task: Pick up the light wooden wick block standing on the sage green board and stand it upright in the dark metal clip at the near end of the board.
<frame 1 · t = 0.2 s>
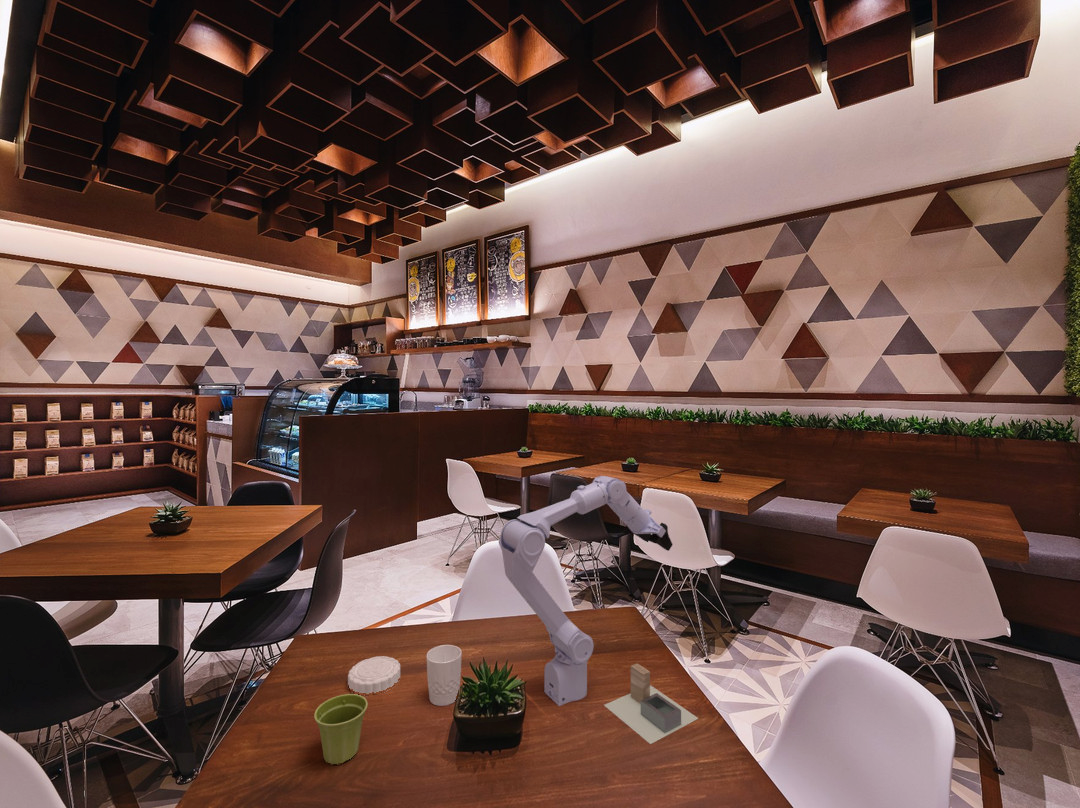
hand: (659, 542, 122), 31 cm above the table, tool tilted 45°, fingers open, 7 cm apart
white cup: (444, 697, 108), on the table
plant pot: (341, 754, 91), on the table
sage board: (650, 716, 101), on the table
mooncake: (374, 682, 114), on the table
wick clip: (660, 724, 99), resting on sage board
wooden wick: (640, 700, 105), point 1 cm above the table, touching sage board
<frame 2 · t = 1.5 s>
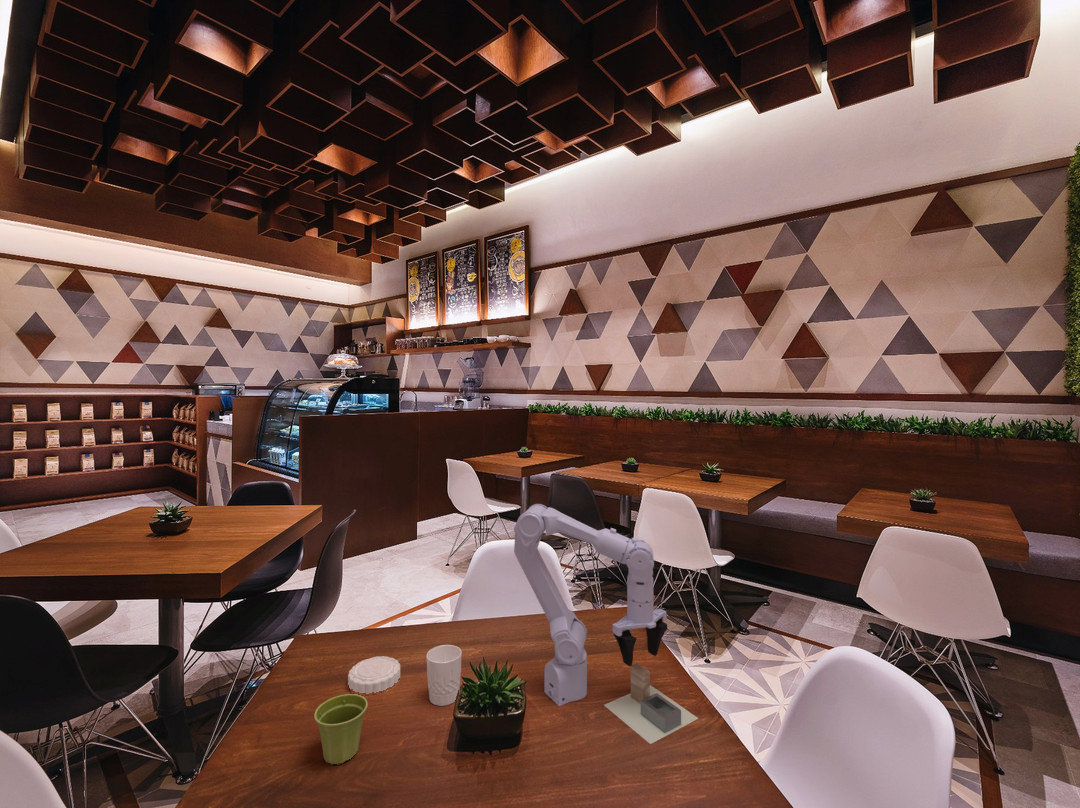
hand: (640, 658, 105), 10 cm above the table, tool pointing down, fingers open, 7 cm apart
nothing on the table moved.
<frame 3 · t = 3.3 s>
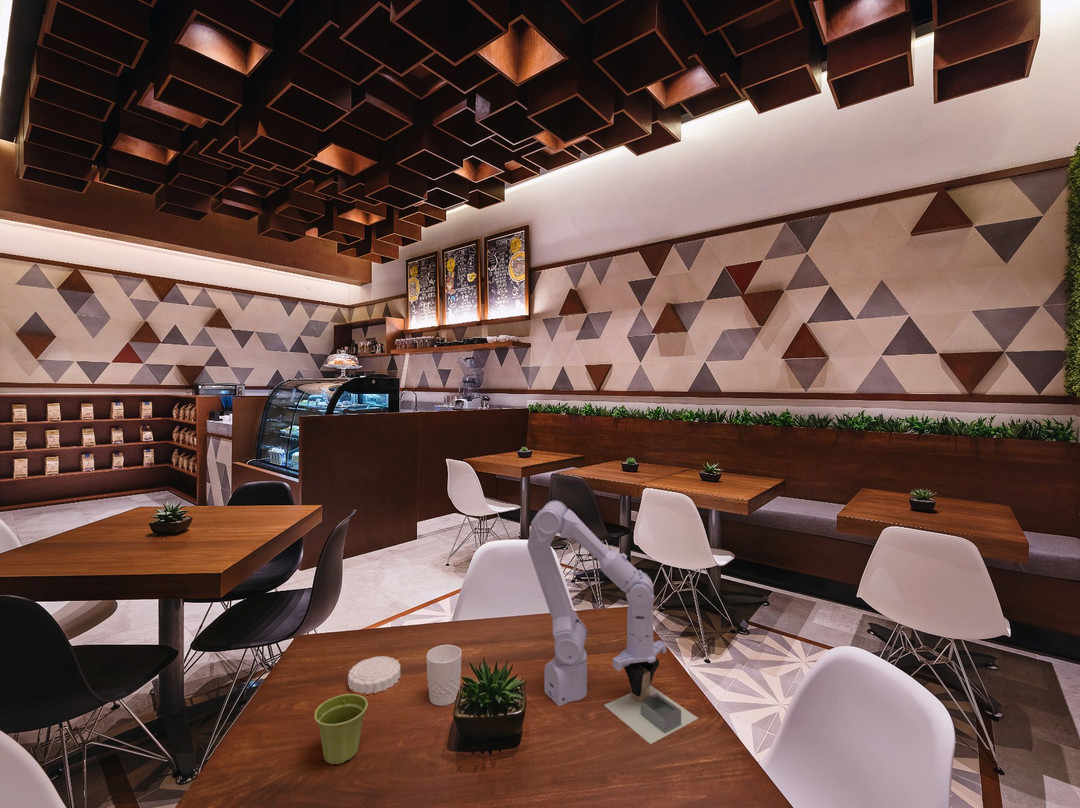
hand: (640, 691, 105), 3 cm above the table, tool pointing down, fingers closed on wooden wick, 2 cm apart
wooden wick: (640, 700, 105), point 1 cm above the table, touching gripper, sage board
everything else where it was.
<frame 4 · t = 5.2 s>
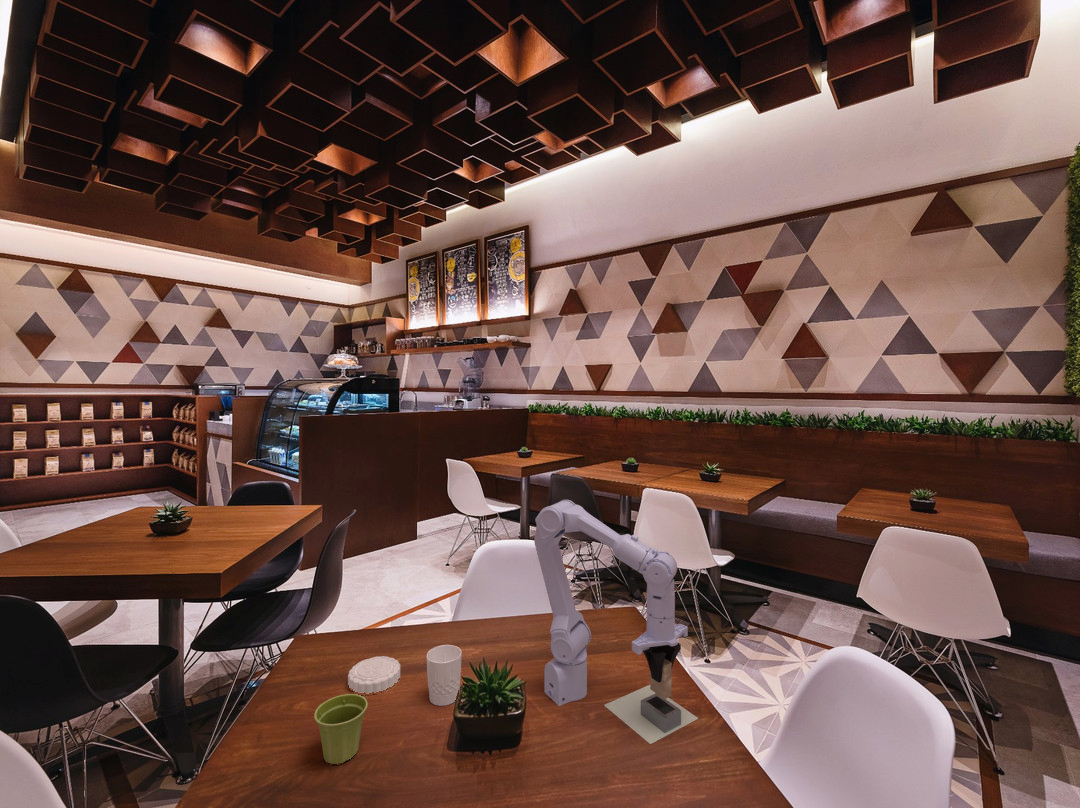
hand: (660, 677, 99), 10 cm above the table, tool pointing down, fingers closed on wooden wick
wooden wick: (660, 692, 99), point 7 cm above the table, touching gripper
everything else where it was.
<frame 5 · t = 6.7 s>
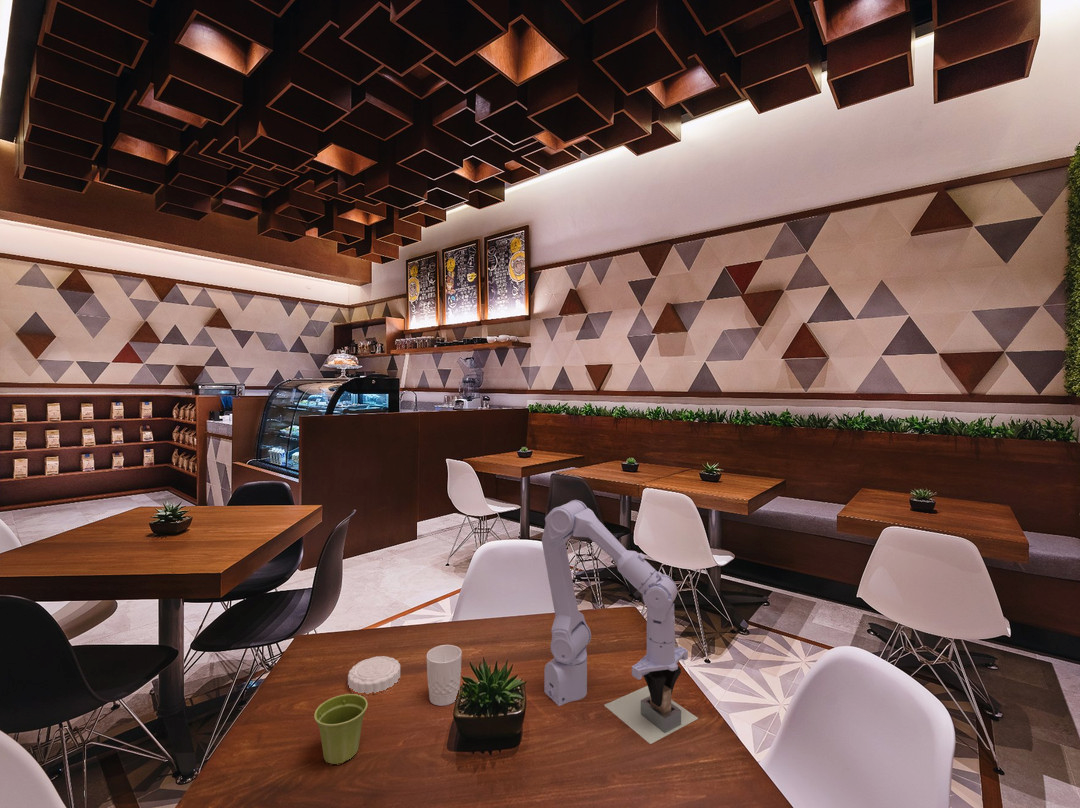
hand: (660, 701, 99), 5 cm above the table, tool pointing down, fingers closed on wooden wick, 2 cm apart
wooden wick: (660, 719, 99), point 1 cm above the table, touching gripper, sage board
everything else where it was.
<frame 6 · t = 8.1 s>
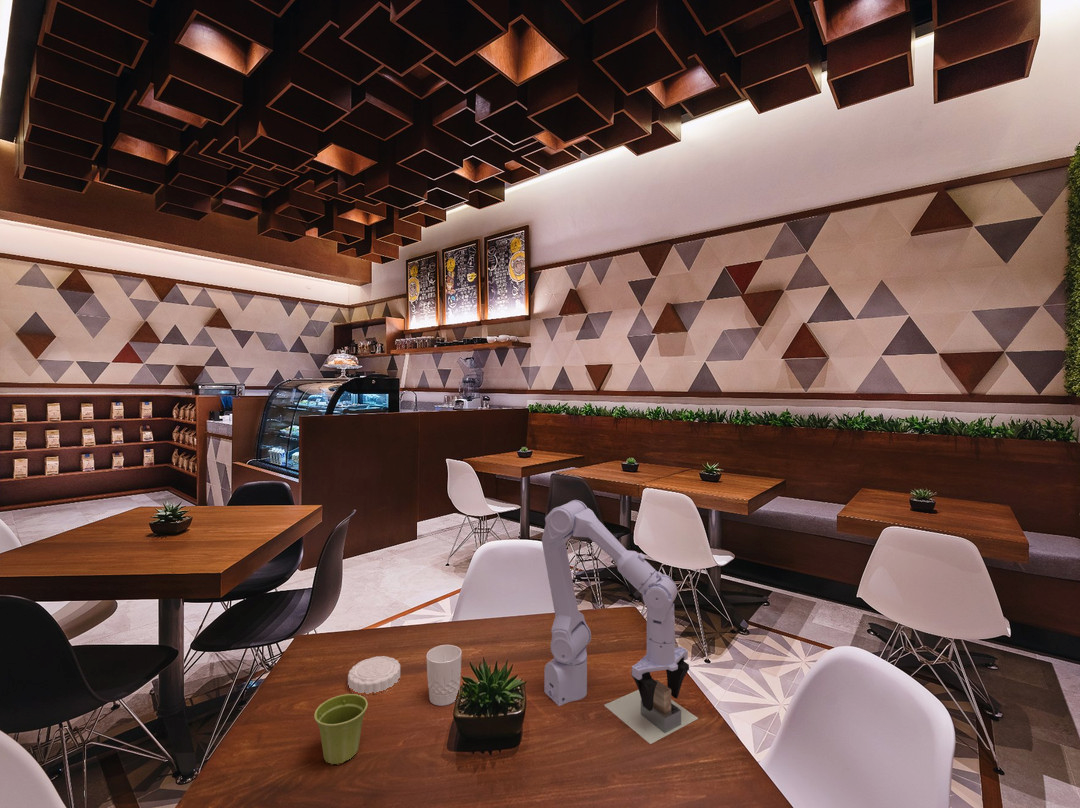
hand: (660, 701, 99), 5 cm above the table, tool pointing down, fingers open, 7 cm apart
wooden wick: (660, 719, 99), point 1 cm above the table, touching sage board
everything else where it was.
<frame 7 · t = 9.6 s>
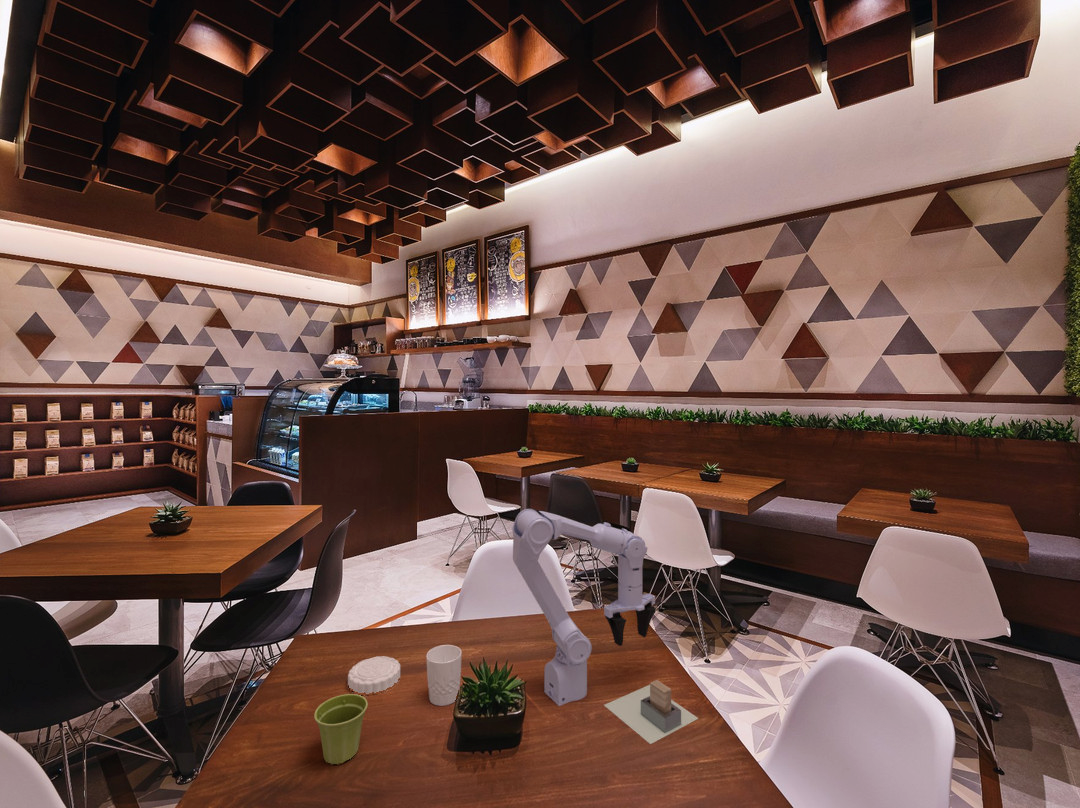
hand: (630, 639, 113), 10 cm above the table, tool pointing down, fingers open, 7 cm apart
nothing on the table moved.
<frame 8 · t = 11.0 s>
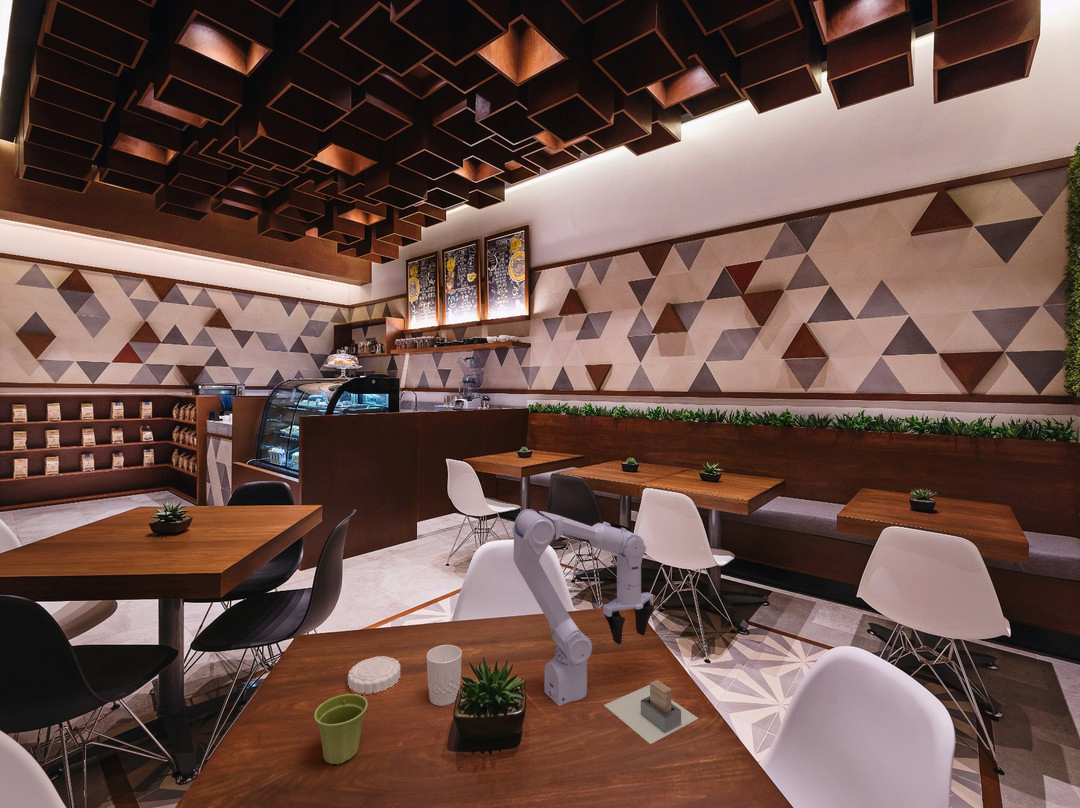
hand: (629, 638, 114), 10 cm above the table, tool pointing down, fingers open, 7 cm apart
nothing on the table moved.
at the end: wooden wick 0.0 cm off-centre on the wick clip, point 1.0 cm above the wick clip's base; wooden wick tilted 0°; the gripper is holding nothing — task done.
